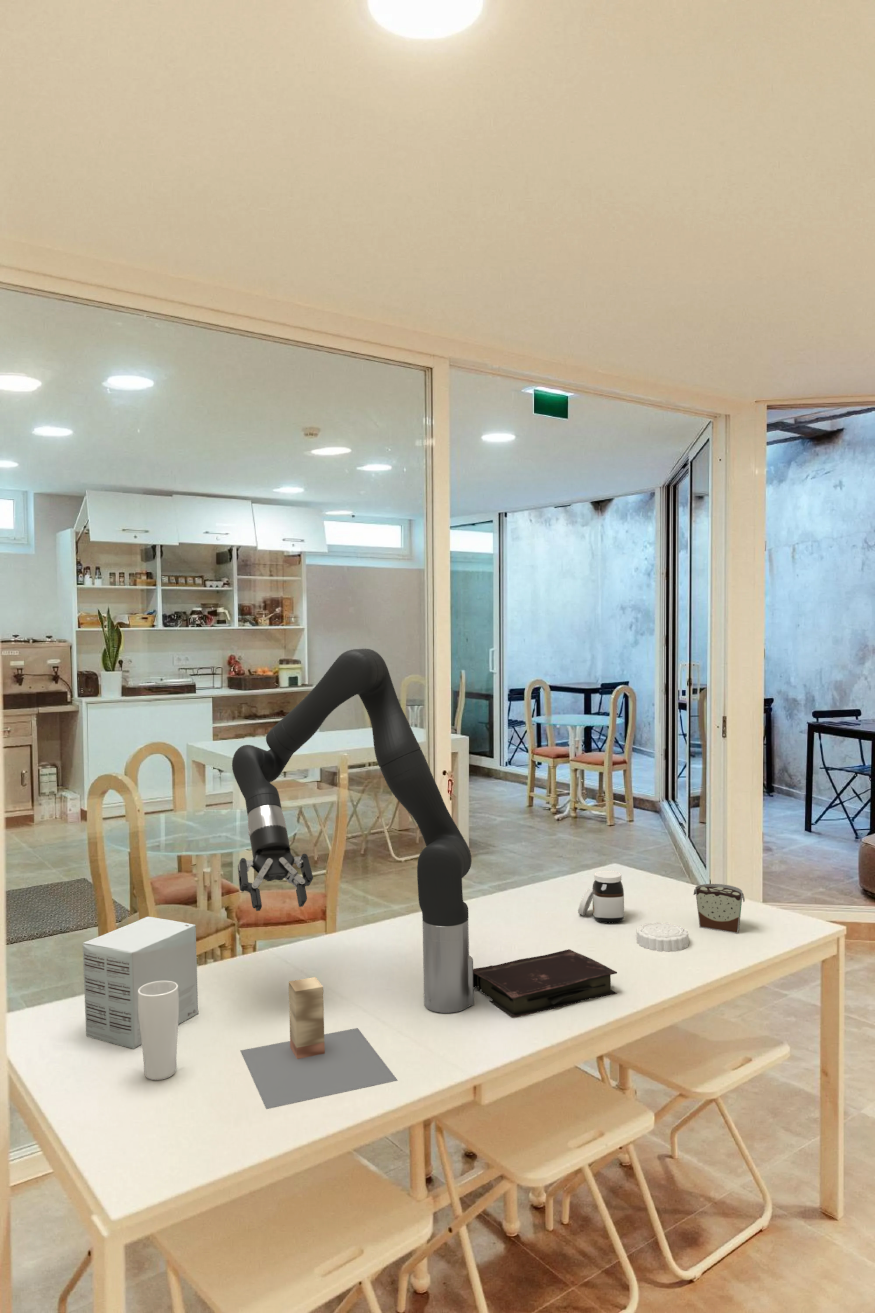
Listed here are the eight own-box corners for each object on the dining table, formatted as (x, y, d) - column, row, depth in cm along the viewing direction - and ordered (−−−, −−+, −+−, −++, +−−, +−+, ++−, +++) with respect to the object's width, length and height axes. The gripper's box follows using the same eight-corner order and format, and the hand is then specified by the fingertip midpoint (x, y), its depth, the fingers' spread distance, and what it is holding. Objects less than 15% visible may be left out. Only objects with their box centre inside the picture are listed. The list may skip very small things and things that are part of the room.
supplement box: (150, 1002, 190) (147, 915, 189) (200, 1014, 183) (197, 924, 183) (82, 1036, 174) (79, 941, 174) (134, 1050, 168) (131, 952, 168)
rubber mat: (357, 1030, 175) (357, 1028, 175) (397, 1083, 154) (397, 1080, 154) (240, 1053, 166) (240, 1050, 166) (266, 1112, 146) (266, 1109, 146)
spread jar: (627, 925, 232) (626, 879, 232) (581, 926, 232) (581, 880, 232) (618, 910, 244) (617, 866, 244) (575, 911, 244) (574, 867, 244)
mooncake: (699, 945, 217) (699, 930, 217) (664, 956, 211) (664, 941, 211) (660, 932, 227) (660, 917, 227) (625, 942, 220) (625, 927, 220)
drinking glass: (158, 1087, 154) (156, 998, 154) (131, 1077, 158) (128, 991, 157) (189, 1070, 160) (186, 985, 160) (162, 1061, 164) (159, 977, 163)
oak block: (317, 1042, 169) (315, 977, 169) (324, 1053, 164) (323, 986, 164) (290, 1047, 167) (288, 981, 167) (296, 1059, 162) (295, 991, 162)
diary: (468, 990, 195) (468, 966, 195) (568, 969, 206) (567, 946, 206) (514, 1022, 178) (514, 996, 178) (620, 997, 189) (619, 972, 189)
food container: (750, 927, 229) (750, 887, 228) (744, 934, 223) (744, 893, 223) (700, 919, 235) (700, 880, 235) (693, 926, 230) (693, 886, 230)
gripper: (236, 825, 183) (248, 902, 174) (306, 821, 189) (321, 895, 180) (229, 844, 188) (240, 919, 179) (297, 839, 194) (311, 912, 185)
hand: (280, 907), depth 179 cm, fingers open, 8 cm apart
